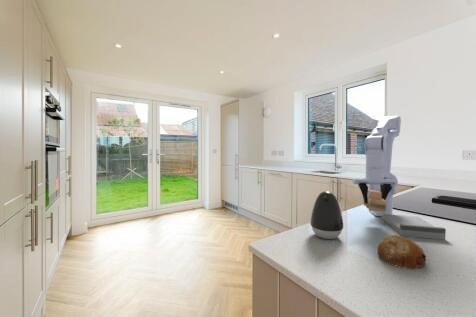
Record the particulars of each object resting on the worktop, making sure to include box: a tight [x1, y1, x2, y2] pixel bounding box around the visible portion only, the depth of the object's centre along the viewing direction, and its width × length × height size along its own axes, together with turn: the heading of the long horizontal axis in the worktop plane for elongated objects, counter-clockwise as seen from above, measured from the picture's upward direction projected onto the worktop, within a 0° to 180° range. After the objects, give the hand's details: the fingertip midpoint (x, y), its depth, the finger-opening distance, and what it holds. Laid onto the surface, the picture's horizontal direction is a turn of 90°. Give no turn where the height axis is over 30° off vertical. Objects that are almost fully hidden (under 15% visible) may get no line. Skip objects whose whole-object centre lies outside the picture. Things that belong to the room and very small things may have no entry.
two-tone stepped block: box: [363, 196, 386, 212], centre depth 83 cm, size 10×5×4 cm, turn 163°
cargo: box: [367, 189, 382, 199], centre depth 83 cm, size 4×4×2 cm
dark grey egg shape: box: [310, 190, 344, 240], centre depth 73 cm, size 10×10×15 cm
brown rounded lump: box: [376, 234, 427, 270], centre depth 58 cm, size 10×10×8 cm
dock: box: [382, 214, 447, 241], centre depth 80 cm, size 18×12×4 cm, turn 163°
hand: (374, 203), depth 83 cm, fingers closed on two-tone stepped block, 5 cm apart
